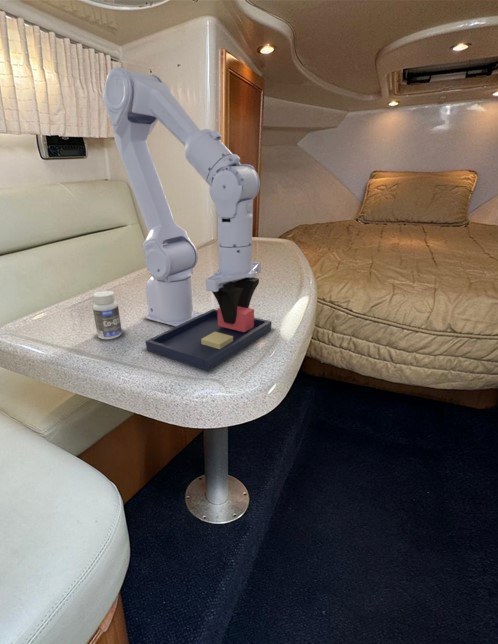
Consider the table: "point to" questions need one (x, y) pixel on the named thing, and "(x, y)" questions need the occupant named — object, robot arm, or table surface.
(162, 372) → the table surface
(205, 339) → the beige square tile
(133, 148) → the robot arm
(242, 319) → the eraser
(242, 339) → the tray
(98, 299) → the pill bottle
